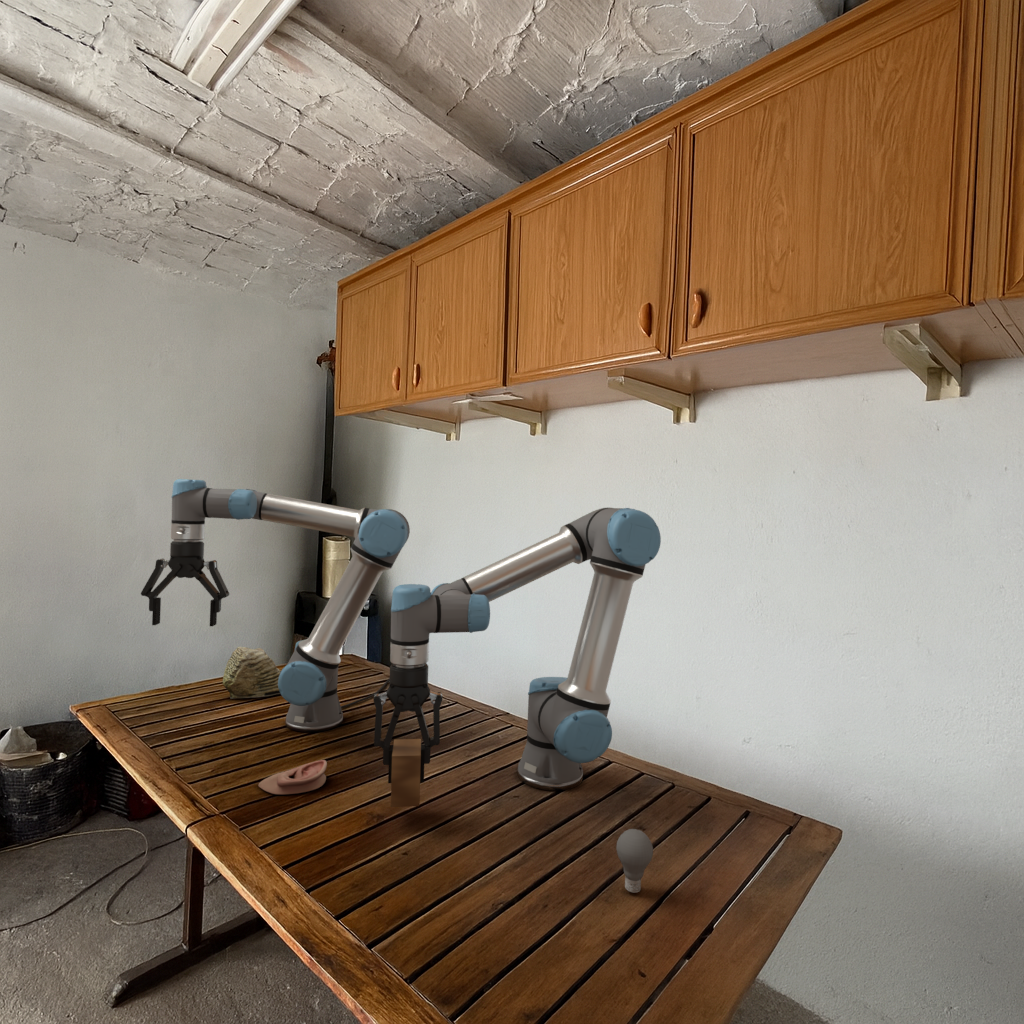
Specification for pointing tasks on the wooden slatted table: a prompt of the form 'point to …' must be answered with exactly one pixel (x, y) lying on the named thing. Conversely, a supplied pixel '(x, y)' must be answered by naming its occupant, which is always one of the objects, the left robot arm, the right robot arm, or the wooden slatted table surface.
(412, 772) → the brick
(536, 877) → the wooden slatted table surface
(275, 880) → the wooden slatted table surface
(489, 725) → the wooden slatted table surface
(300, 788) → the anatomical model
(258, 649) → the fossil
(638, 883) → the light bulb
